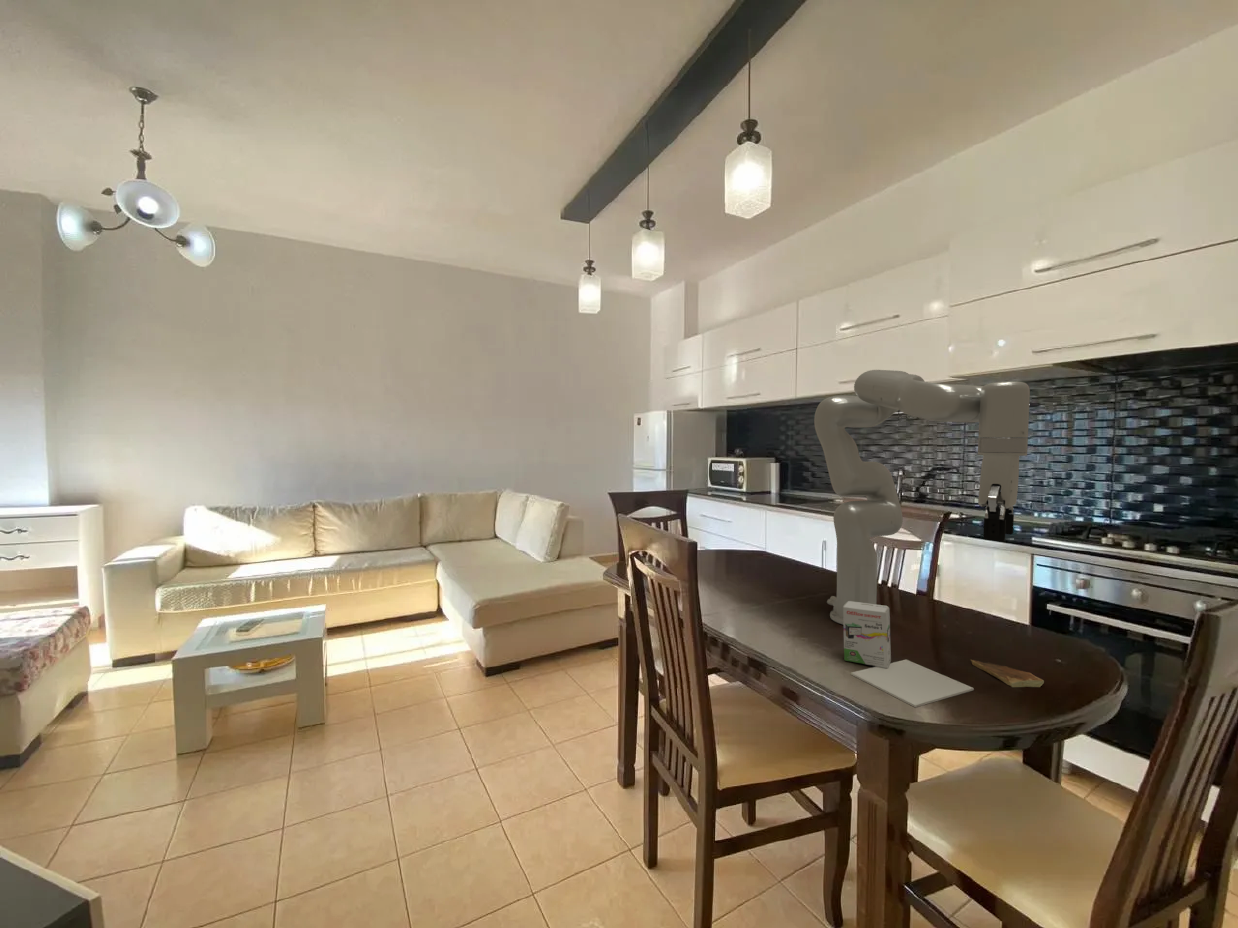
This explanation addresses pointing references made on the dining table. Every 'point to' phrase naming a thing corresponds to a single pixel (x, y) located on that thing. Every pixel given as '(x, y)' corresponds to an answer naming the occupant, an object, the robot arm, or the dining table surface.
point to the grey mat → (912, 682)
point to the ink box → (867, 634)
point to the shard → (1009, 674)
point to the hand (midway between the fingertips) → (998, 536)
